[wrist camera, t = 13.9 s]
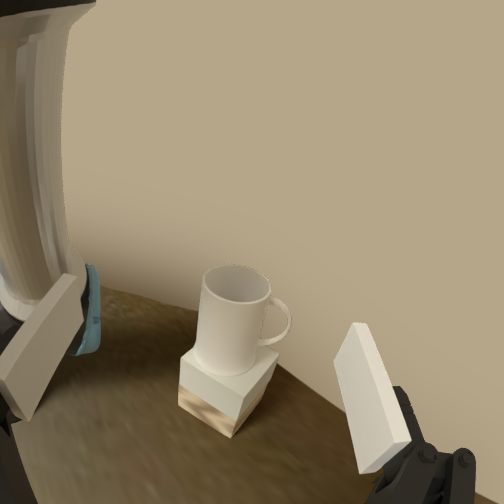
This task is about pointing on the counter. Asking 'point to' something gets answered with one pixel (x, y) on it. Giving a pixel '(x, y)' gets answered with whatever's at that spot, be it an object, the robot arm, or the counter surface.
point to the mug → (233, 319)
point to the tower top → (228, 382)
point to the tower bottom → (214, 411)
